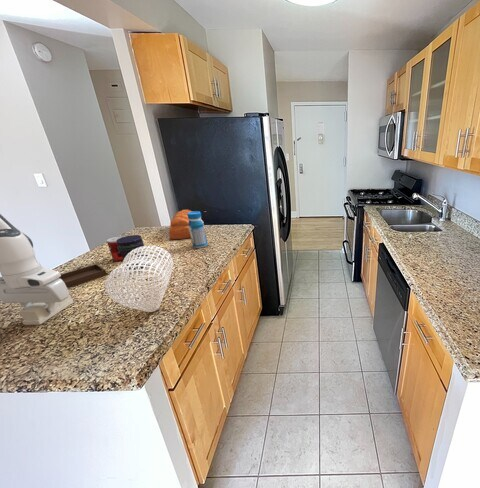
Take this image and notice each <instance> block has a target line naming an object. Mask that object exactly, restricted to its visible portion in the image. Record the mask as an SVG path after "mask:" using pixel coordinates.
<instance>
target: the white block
mask: <svg viewBox="0 0 480 488" xmlns="http://www.w3.org/2000/svg"><path fill="white" fill-rule="evenodd" d="M73 303H75V302H74V299H73V298H72V297H71V295H69V296H68V298H66V299H65V300H63V301H62V302H55V305H54V306H55V308H56V310H55V311H53V312H47V311H46V309H45V308H47V307H48V305H46V304H45V303H31V304H32V305H31V306H29V307H27V308H23V309H21V310H20V311H19V313H20V316H21V318H22V321H21V323H22V324H23V325H24V326H33V325H34V326H35V325H36V326H37V325H38V326H39V325H42V324H43V323H45V322H46V321H48V320H50V319H51V318H53V317H55V315H57V314H58V313H60V312H61V311H63V310H64V309H66V308H68V307H69V306H70V305H72V304H73Z"/></svg>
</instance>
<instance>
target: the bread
mask: <svg viewBox="0 0 480 488" xmlns="http://www.w3.org/2000/svg"><path fill="white" fill-rule="evenodd" d="M189 212H193V211H192V210H191V209H182V210H179V211H177V212H176V213H175V214H174V216H173V218H172V219H171V221H170V224H169V225H170V226H169V227H170V228H169V229H168V230H169V233H168V234H169V235H168V236H169V238H170V239H172V240H184V239H189V238H190V239H191V235H190V231H189V226H188V223H189V219H188V215H187V213H189Z"/></svg>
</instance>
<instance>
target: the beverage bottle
mask: <svg viewBox="0 0 480 488" xmlns="http://www.w3.org/2000/svg"><path fill="white" fill-rule="evenodd" d="M187 215H188V219H189V223H188V226H189V231H190V235H191V237H190V239H191V244H192V245H191V246H192V247H193V248H194V249H201V248H205V247H207V246H209V245H208V244H209V243H208V239H207V233H206V225H205V223H204V221H203V220H202V213H201V211H199V210H194V211H193V212H189V213H187Z"/></svg>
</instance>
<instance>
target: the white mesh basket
mask: <svg viewBox="0 0 480 488" xmlns="http://www.w3.org/2000/svg"><path fill="white" fill-rule="evenodd" d="M144 249H145V250H144ZM137 250H138V251H137ZM141 250H142V251H141ZM135 251H136V252H135ZM144 251H145V252H144ZM132 252H134V253H132ZM139 252H141V253H139ZM142 252H143V253H142ZM135 253H137V255H135ZM138 253H139V254H138ZM132 255H133V256H132ZM139 255H140V257H137V256H139ZM141 255H144V256H142V257H141ZM145 255H147V256H145ZM131 256H132V257H131ZM135 257H136V258H135ZM130 258H131V259H130ZM137 258H139V259H137ZM144 258H146V259H144ZM133 259H135V260H133ZM128 260H129V261H130V262H129V261H128ZM124 262H125V263H124ZM135 262H136V263H135ZM143 262H145V263H143ZM148 263H149V264H148ZM128 264H129V266H127V265H128ZM132 264H134V265H132ZM136 264H139V265H136ZM142 264H143V265H142ZM144 264H145V265H144ZM146 264H147V266H146ZM131 265H132V266H131ZM148 265H149V266H148ZM129 267H131V269H130V270H129ZM132 267H133V268H132ZM136 267H138V269H137V268H136ZM141 267H144V268H143V269H141ZM145 267H146V268H145ZM134 268H135V269H136V270H133V269H134ZM139 268H140V270H139ZM173 268H174V261H173V257H172V255H171V253H170V252H169V251H168V250H166V249H164V248H163V247H161V246H157V245H144V246H142V247H139V248H136V249H134V250H132V251H131V252H129V253H128V254H127V255H126V257H125V258H124V260H123V261H122V263H121V265H119V266H117V267H115V268H114V269H113V270H112V271H111V272H110V273H109V274H107V277H106V278H105V281H104V288H105V291H106V294H107V295H108V296H109V298H110V299H112V301H114V302H115V303H117V304H119V305H121V306H123V307H126V308H129V309H134V310H139V311H142V312H147V313H153V312H156V311H157V310H159V307H160V306H161V303H162V301H163V298H164V296H165V294H166V291H167V288H168V285H169V282H170V279H171V277H172V273H173ZM126 269H127V271H126ZM150 278H151V280H150ZM146 279H147V280H146ZM156 282H157V283H156ZM146 284H147V285H146ZM135 286H136V287H135ZM149 295H150V296H149Z"/></svg>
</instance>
